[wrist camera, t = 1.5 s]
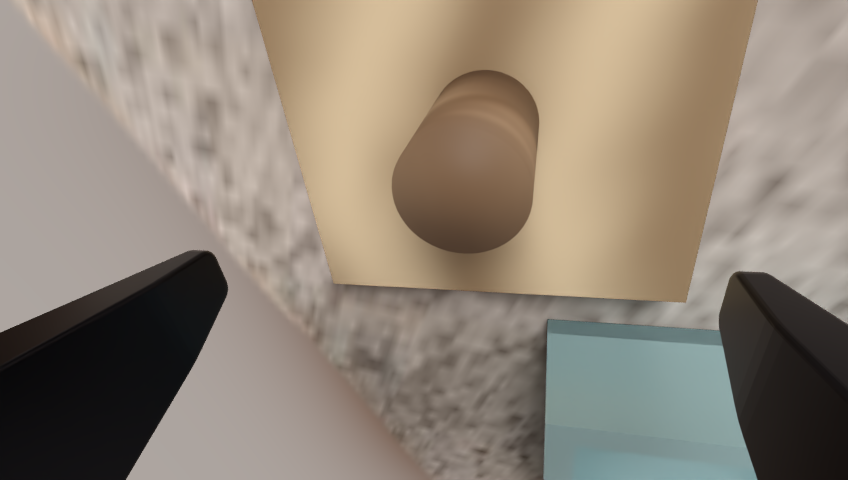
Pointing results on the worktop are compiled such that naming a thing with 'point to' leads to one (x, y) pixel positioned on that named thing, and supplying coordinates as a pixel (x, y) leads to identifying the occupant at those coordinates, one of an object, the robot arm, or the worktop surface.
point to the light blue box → (639, 405)
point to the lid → (509, 137)
